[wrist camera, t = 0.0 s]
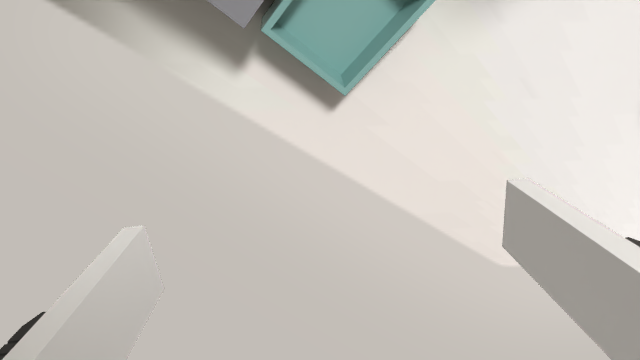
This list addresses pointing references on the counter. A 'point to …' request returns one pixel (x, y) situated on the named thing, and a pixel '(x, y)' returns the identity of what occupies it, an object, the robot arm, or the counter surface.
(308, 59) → the box
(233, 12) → the gray rectangular block
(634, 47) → the counter surface
